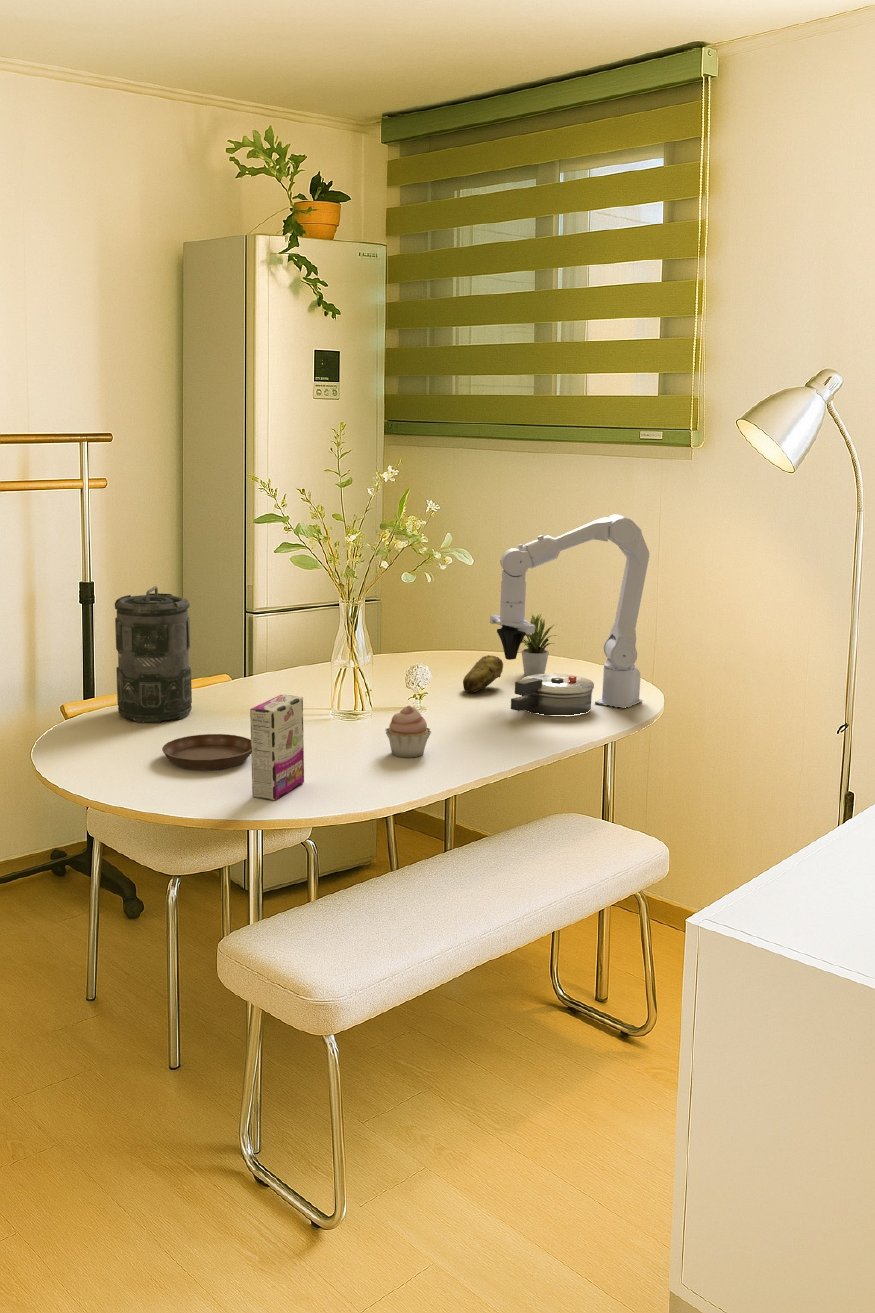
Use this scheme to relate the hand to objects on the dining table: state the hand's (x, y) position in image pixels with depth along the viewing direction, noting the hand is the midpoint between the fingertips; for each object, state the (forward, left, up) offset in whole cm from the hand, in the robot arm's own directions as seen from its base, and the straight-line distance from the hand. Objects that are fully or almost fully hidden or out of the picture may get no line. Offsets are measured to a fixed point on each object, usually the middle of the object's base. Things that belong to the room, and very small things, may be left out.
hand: (510, 658), depth 278 cm
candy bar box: (+81, +3, -11) cm, 82 cm away
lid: (0, +11, -5) cm, 12 cm away
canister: (+61, -53, -11) cm, 82 cm away
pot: (0, +10, -10) cm, 15 cm away
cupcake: (+48, +7, -11) cm, 50 cm away
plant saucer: (+76, -20, -11) cm, 79 cm away
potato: (-6, -12, -11) cm, 17 cm away
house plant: (-29, -12, -11) cm, 33 cm away
